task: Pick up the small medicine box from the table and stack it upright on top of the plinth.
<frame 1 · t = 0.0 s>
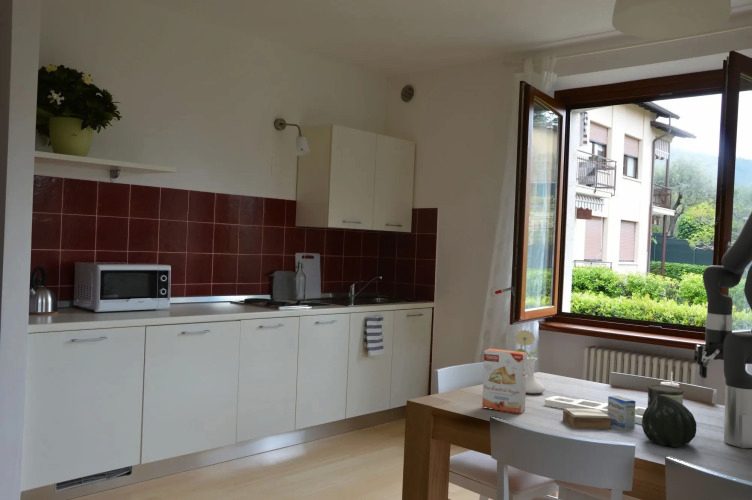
hand: (716, 378, 201), 17 cm above the table, tool pointing down, fingers open, 8 cm apart
holder: (614, 414, 223), on the table
flower in vase: (528, 392, 252), on the table
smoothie: (669, 410, 230), on the table
plinth: (586, 424, 205), on the table
cracker box: (503, 410, 221), on the table
medicine box: (620, 425, 206), on the table
coffee can: (664, 433, 198), on the table
squash: (668, 444, 186), on the table
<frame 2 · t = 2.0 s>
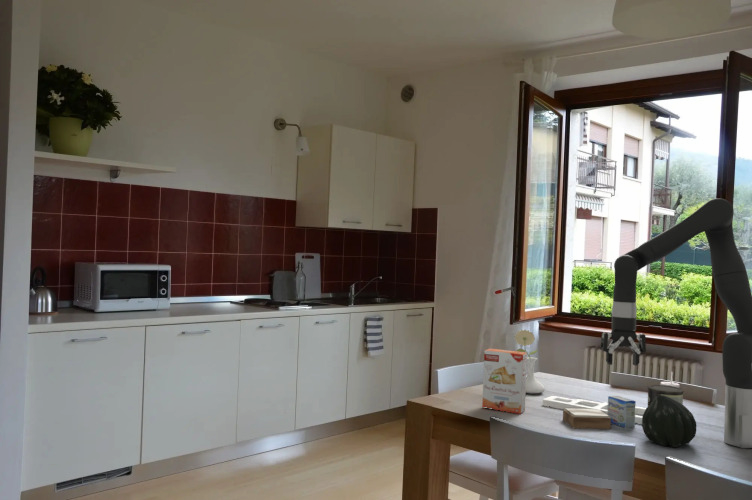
hand: (622, 364, 207), 20 cm above the table, tool pointing down, fingers open, 8 cm apart
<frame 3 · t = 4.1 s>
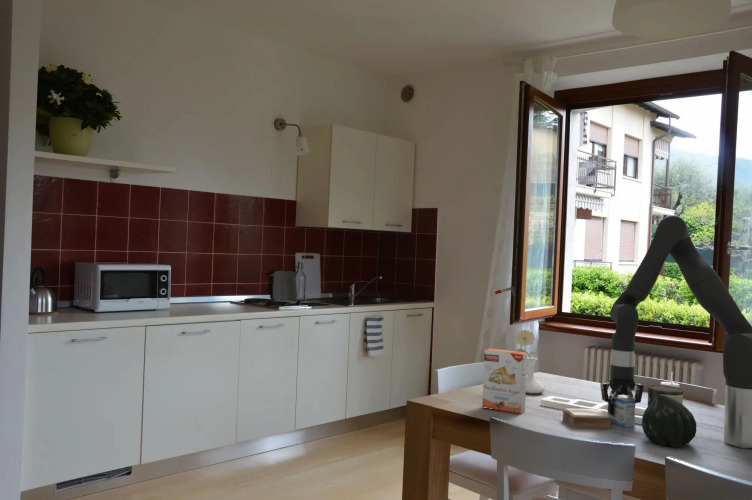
hand: (621, 414, 206), 3 cm above the table, tool pointing down, fingers closed on medicine box, 5 cm apart
medicine box: (620, 424, 206), on the table, touching gripper
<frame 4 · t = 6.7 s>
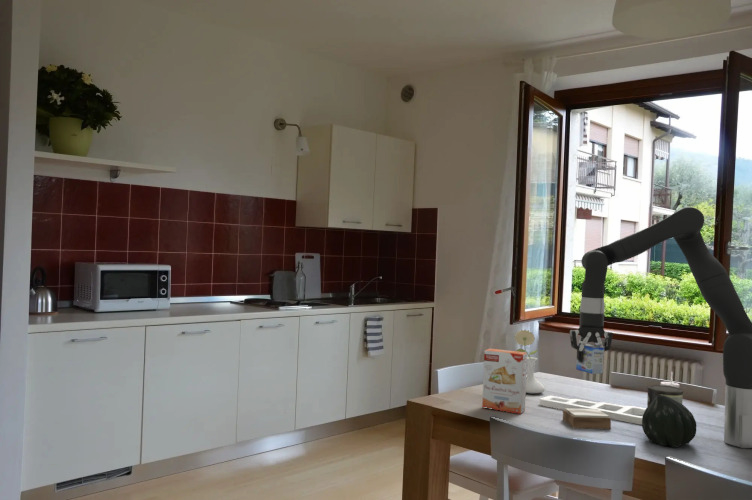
hand: (589, 362, 206), 20 cm above the table, tool pointing down, fingers closed on medicine box, 5 cm apart
medicine box: (589, 372, 206), point 17 cm above the table, touching gripper
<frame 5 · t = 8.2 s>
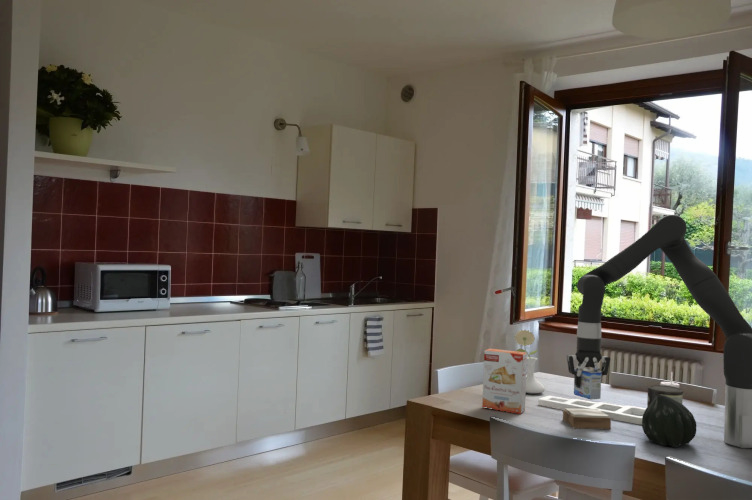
hand: (587, 387, 205), 12 cm above the table, tool pointing down, fingers closed on medicine box, 5 cm apart
medicine box: (587, 397, 205), point 9 cm above the table, touching gripper
when the fingers open (8 cm above the table, at t = 9.4 s): medicine box drops 1 cm, resting on plinth.
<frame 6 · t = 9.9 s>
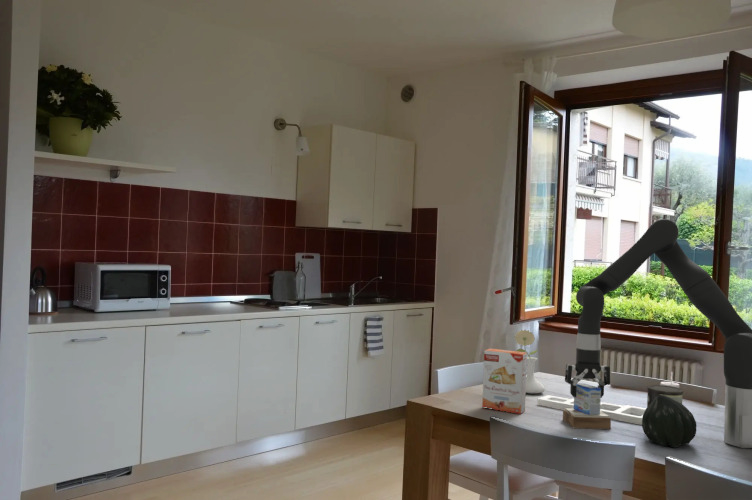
hand: (586, 397, 205), 9 cm above the table, tool pointing down, fingers open, 8 cm apart
medicine box: (586, 412, 205), point 4 cm above the table, touching plinth
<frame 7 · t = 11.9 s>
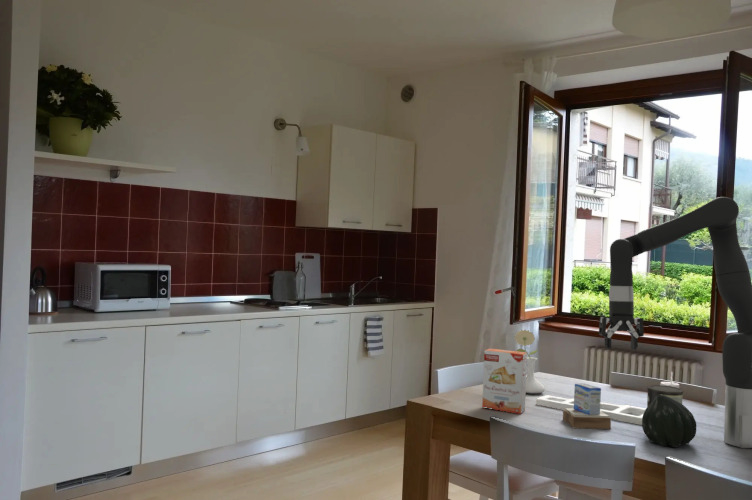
hand: (621, 349, 206), 25 cm above the table, tool pointing down, fingers open, 8 cm apart
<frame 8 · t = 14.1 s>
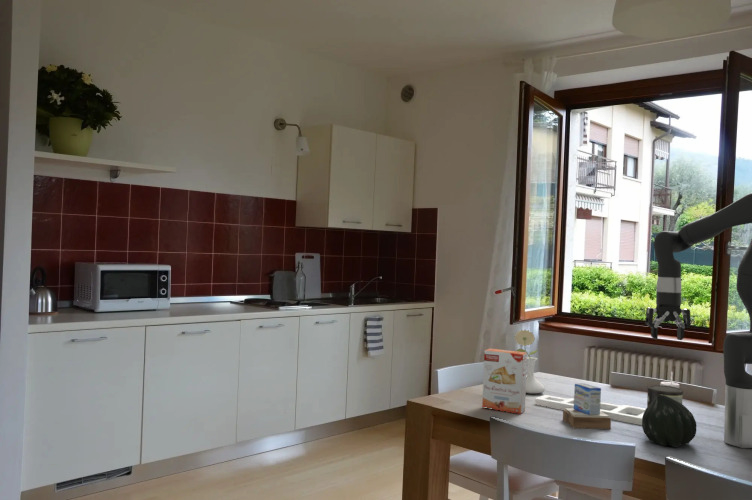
hand: (667, 339, 209), 28 cm above the table, tool pointing down, fingers open, 8 cm apart
at the end: medicine box inside the target area on the plinth (0.1 cm from its centre), point 3.8 cm above the plinth's base; medicine box tilted 0°; the gripper is holding nothing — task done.
